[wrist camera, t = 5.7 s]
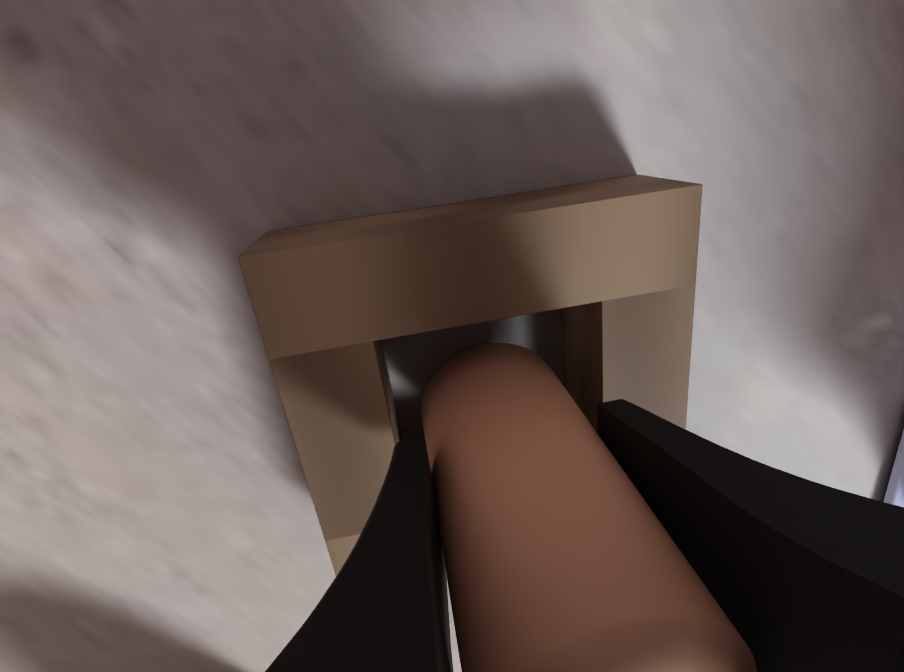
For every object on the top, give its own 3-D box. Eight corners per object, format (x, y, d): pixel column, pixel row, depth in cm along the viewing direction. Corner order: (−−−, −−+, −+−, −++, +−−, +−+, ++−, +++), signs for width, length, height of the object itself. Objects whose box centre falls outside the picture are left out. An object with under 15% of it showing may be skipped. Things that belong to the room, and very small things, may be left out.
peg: (551, 327, 13) (766, 581, 6) (566, 444, 15) (749, 754, 8) (405, 363, 13) (445, 673, 6) (438, 478, 15) (500, 829, 7)
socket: (638, 174, 14) (702, 184, 11) (632, 469, 18) (678, 529, 15) (267, 231, 13) (237, 257, 10) (349, 527, 17) (344, 601, 14)
